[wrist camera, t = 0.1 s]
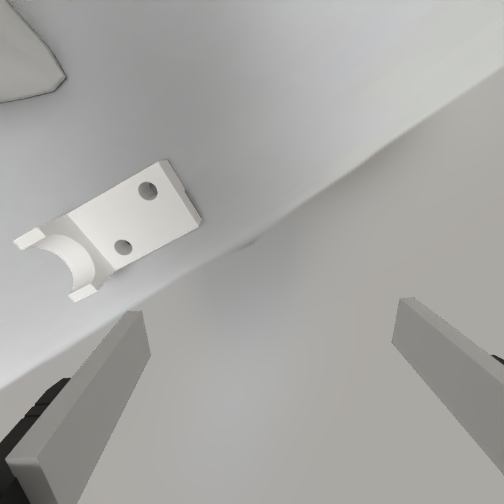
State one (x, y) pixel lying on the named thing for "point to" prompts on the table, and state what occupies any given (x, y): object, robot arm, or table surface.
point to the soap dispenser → (24, 59)
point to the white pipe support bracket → (117, 227)
